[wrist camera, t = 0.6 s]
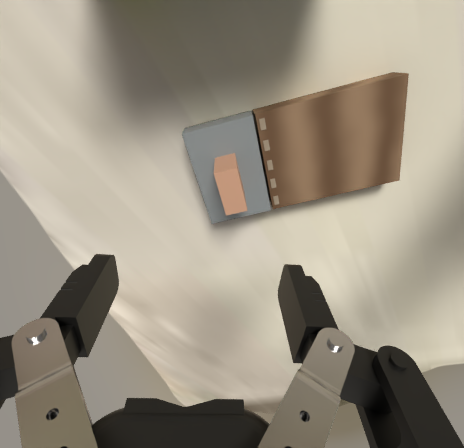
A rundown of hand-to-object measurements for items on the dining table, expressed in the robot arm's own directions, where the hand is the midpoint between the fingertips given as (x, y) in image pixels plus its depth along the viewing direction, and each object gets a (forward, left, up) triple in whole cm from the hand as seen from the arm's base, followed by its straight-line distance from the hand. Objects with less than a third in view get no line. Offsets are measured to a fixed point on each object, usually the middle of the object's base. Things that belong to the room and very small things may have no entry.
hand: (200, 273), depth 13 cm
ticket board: (-14, +3, -24) cm, 28 cm away
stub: (-1, +3, -24) cm, 24 cm away
